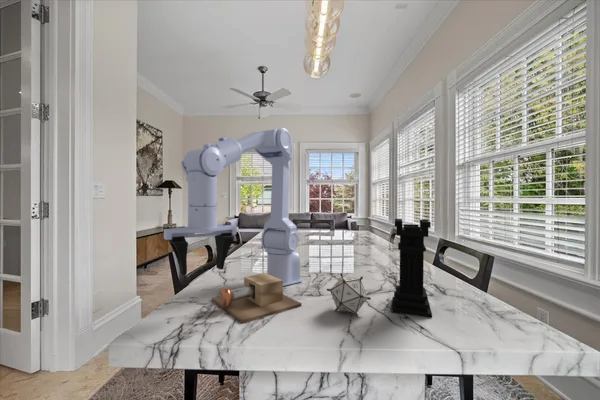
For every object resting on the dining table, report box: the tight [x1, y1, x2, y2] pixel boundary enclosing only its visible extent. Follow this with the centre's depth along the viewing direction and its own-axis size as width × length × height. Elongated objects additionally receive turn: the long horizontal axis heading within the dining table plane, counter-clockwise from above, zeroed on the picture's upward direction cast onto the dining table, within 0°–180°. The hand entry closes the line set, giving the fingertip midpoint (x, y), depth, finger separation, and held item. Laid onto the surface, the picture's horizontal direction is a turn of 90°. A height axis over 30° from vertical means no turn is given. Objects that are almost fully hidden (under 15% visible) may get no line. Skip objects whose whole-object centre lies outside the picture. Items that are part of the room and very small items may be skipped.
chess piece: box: [391, 218, 433, 319], centre depth 64 cm, size 8×8×20 cm
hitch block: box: [211, 272, 303, 324], centre depth 67 cm, size 15×16×5 cm
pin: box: [219, 285, 255, 307], centre depth 65 cm, size 10×4×4 cm, turn 128°
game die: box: [326, 272, 372, 318], centre depth 62 cm, size 9×8×10 cm
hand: (202, 271), depth 59 cm, fingers open, 7 cm apart
